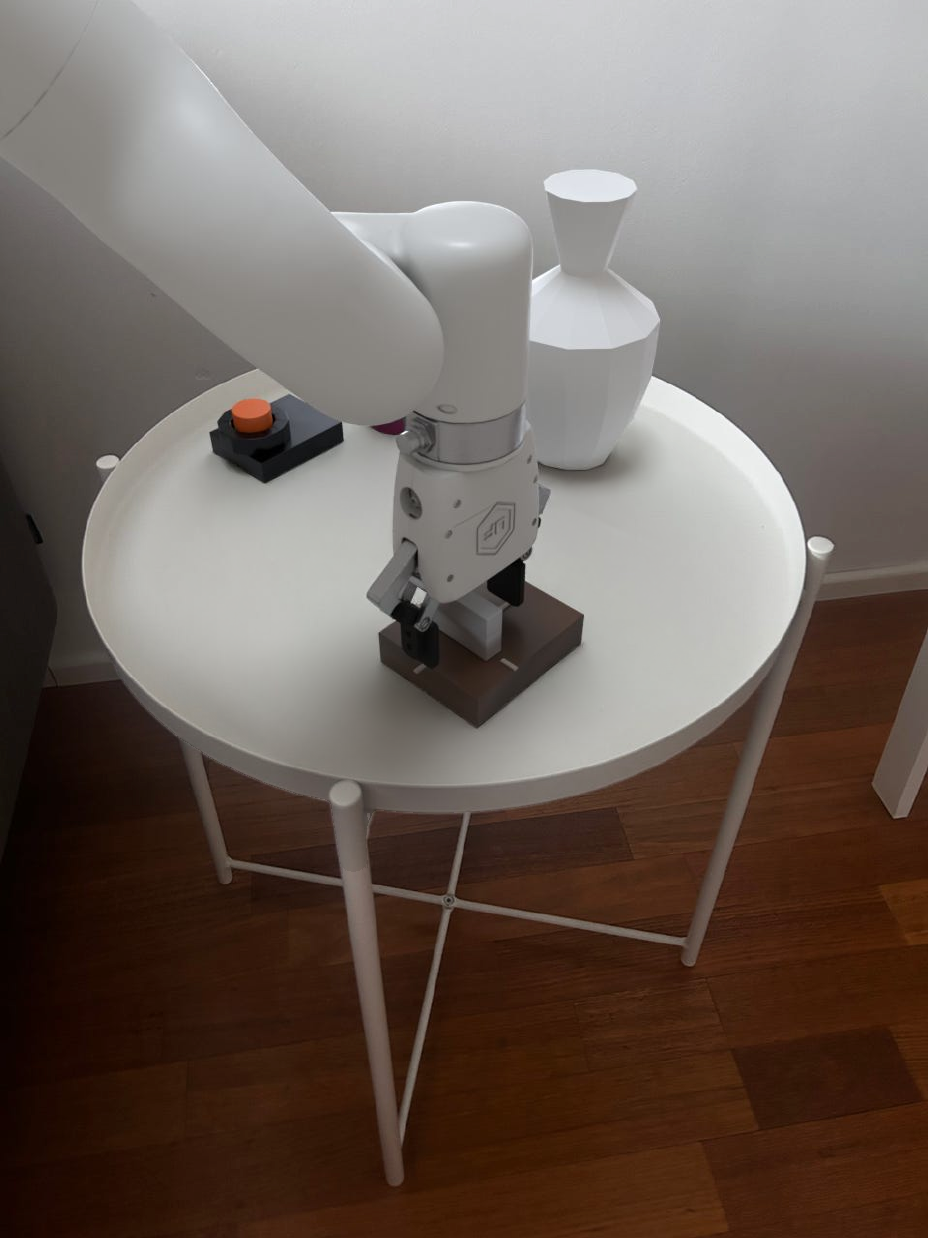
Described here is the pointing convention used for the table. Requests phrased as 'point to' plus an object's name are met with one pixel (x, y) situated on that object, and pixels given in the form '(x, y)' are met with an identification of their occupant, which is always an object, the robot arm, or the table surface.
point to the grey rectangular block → (472, 624)
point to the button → (252, 415)
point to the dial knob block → (487, 686)
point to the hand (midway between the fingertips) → (464, 626)
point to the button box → (277, 439)
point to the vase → (586, 327)
